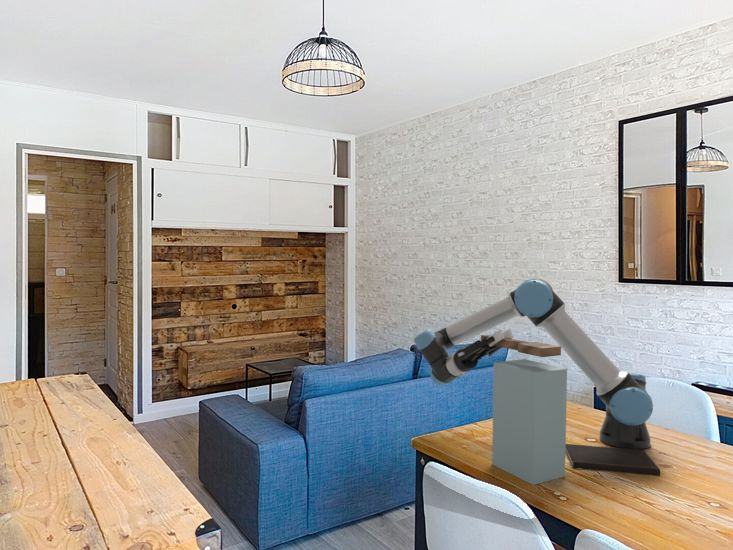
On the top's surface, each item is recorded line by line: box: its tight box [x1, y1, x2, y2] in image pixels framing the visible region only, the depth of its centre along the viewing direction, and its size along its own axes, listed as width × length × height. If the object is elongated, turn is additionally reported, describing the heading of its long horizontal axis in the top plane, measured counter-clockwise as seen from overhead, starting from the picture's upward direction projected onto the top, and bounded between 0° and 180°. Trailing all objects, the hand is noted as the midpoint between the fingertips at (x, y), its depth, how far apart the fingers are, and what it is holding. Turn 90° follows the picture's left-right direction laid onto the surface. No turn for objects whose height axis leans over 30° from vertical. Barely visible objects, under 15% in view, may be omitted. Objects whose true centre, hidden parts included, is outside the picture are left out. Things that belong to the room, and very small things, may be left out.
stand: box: [491, 358, 568, 486], centre depth 151 cm, size 16×12×30 cm
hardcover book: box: [565, 443, 661, 477], centre depth 158 cm, size 16×23×2 cm
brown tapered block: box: [480, 334, 562, 358], centre depth 155 cm, size 27×7×2 cm, turn 29°
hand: (506, 333), depth 158 cm, fingers closed on brown tapered block, 3 cm apart
